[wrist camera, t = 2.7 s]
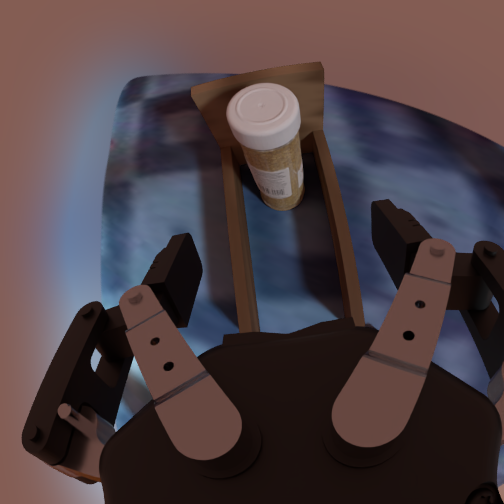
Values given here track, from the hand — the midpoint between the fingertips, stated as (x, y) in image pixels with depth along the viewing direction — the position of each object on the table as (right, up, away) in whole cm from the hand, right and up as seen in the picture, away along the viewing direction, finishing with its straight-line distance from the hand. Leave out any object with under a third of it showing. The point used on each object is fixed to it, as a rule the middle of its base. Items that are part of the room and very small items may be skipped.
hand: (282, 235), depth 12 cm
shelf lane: (+2, +1, +15) cm, 15 cm away
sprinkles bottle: (+2, +5, +16) cm, 17 cm away
